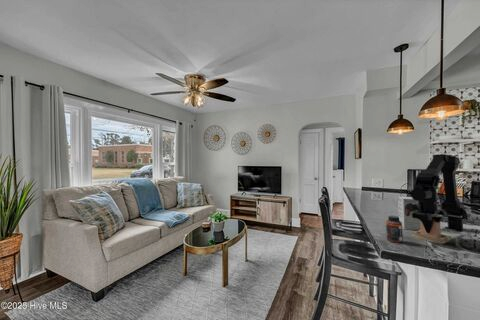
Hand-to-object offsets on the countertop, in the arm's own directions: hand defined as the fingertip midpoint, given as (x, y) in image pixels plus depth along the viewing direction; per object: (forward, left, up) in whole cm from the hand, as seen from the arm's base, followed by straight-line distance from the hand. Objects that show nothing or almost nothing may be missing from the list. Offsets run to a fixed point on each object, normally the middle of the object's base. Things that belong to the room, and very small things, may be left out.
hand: (430, 232), depth 96 cm
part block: (0, 0, -3) cm, 3 cm away
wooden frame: (0, 0, -3) cm, 3 cm away
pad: (-13, 0, -3) cm, 13 cm away
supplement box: (-12, -13, -3) cm, 18 cm away
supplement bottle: (+18, -6, -3) cm, 19 cm away
